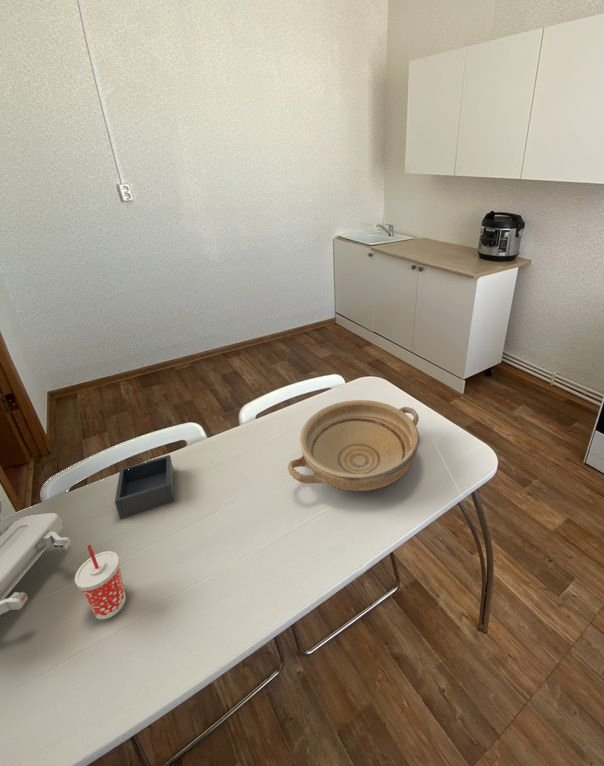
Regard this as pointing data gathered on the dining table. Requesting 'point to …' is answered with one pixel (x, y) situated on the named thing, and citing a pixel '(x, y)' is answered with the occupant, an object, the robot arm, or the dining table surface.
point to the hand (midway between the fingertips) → (47, 570)
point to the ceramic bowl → (357, 445)
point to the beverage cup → (102, 583)
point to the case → (145, 486)
